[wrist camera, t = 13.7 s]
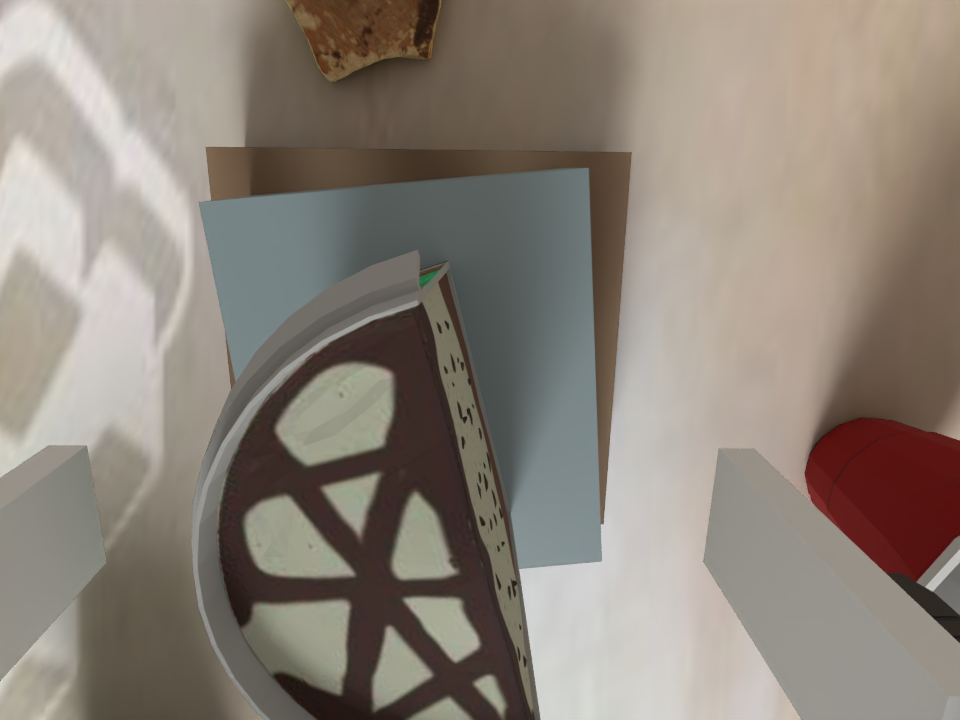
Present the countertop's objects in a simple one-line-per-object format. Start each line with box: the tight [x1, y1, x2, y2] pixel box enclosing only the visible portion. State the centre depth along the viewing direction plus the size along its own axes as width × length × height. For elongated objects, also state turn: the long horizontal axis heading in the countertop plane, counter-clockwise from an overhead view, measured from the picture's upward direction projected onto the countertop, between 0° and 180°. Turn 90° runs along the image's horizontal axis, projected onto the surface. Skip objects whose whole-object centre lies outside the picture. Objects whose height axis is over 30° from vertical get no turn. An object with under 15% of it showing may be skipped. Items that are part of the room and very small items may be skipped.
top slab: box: [199, 168, 602, 569], centre depth 24 cm, size 12×14×5 cm
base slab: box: [206, 147, 632, 524], centre depth 29 cm, size 16×16×5 cm
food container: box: [191, 250, 540, 720], centre depth 17 cm, size 12×6×10 cm, turn 13°
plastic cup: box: [805, 418, 960, 615], centre depth 28 cm, size 11×11×12 cm
